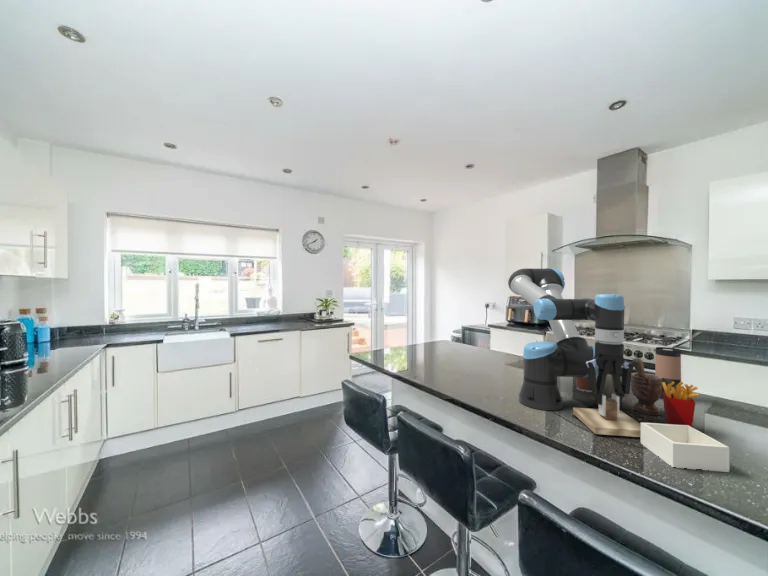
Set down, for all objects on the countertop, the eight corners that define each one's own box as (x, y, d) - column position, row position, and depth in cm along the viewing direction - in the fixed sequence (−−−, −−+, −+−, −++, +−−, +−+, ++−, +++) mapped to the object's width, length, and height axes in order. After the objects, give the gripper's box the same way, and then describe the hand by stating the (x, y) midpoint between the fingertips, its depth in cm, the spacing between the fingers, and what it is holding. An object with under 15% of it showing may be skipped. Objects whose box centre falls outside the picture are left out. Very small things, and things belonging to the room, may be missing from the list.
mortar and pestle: (662, 421, 101) (662, 362, 101) (629, 414, 107) (629, 358, 107) (661, 411, 110) (661, 356, 110) (631, 405, 116) (631, 352, 116)
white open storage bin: (672, 467, 76) (672, 443, 76) (640, 443, 87) (640, 422, 87) (729, 472, 74) (729, 447, 74) (688, 446, 85) (688, 425, 85)
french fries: (661, 420, 102) (661, 376, 102) (695, 426, 98) (695, 380, 98) (669, 431, 95) (669, 383, 95) (706, 438, 90) (706, 387, 90)
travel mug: (683, 399, 122) (683, 349, 122) (678, 403, 118) (678, 351, 118) (658, 393, 129) (658, 346, 129) (652, 397, 124) (652, 348, 124)
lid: (595, 433, 92) (595, 407, 92) (572, 413, 107) (573, 390, 107) (651, 438, 89) (651, 410, 89) (620, 416, 104) (620, 392, 104)
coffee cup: (570, 389, 134) (570, 362, 134) (576, 384, 140) (576, 358, 140) (594, 394, 127) (594, 366, 127) (600, 389, 133) (600, 362, 133)
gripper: (587, 343, 95) (586, 418, 96) (645, 345, 93) (645, 421, 93) (576, 339, 103) (575, 408, 103) (629, 340, 100) (629, 411, 100)
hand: (608, 414), depth 98 cm, fingers closed on lid, 3 cm apart
